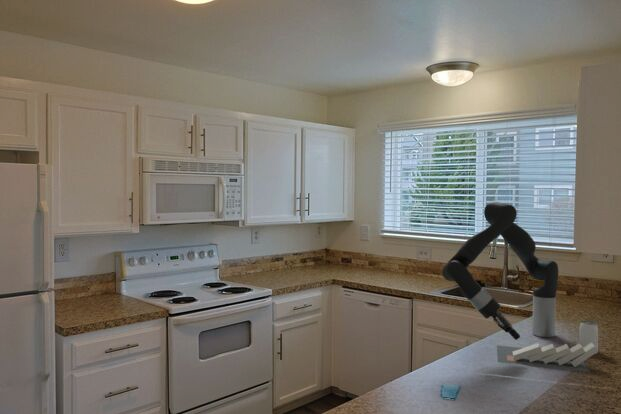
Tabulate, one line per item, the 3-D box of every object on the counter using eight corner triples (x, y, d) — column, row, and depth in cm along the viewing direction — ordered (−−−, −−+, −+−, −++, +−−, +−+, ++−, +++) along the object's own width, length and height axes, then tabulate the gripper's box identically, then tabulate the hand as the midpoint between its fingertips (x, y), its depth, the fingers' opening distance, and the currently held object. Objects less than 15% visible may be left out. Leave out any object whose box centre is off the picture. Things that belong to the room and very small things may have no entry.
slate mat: (496, 346, 211) (496, 345, 211) (578, 354, 201) (578, 353, 201) (497, 363, 190) (497, 361, 190) (589, 373, 181) (589, 371, 181)
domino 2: (526, 353, 195) (552, 343, 192) (529, 358, 195) (555, 348, 192) (527, 357, 190) (554, 347, 187) (530, 362, 190) (556, 352, 187)
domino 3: (540, 355, 193) (566, 343, 190) (543, 359, 193) (569, 348, 190) (542, 359, 189) (568, 347, 186) (545, 364, 188) (571, 352, 185)
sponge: (435, 396, 158) (454, 397, 156) (442, 383, 169) (460, 384, 167) (435, 401, 158) (455, 402, 156) (442, 387, 169) (460, 388, 167)
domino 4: (554, 356, 192) (579, 343, 189) (558, 361, 192) (583, 348, 189) (556, 360, 187) (582, 347, 184) (560, 365, 187) (585, 352, 184)
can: (580, 349, 209) (581, 319, 208) (598, 352, 204) (599, 322, 204) (577, 352, 204) (577, 322, 203) (595, 356, 199) (596, 325, 199)
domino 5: (568, 358, 190) (591, 342, 188) (572, 362, 190) (595, 346, 187) (570, 362, 186) (594, 346, 183) (574, 367, 185) (598, 350, 183)
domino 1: (512, 351, 197) (538, 342, 194) (514, 356, 196) (541, 347, 193) (513, 355, 192) (539, 346, 189) (515, 360, 192) (542, 351, 189)
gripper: (492, 299, 190) (527, 336, 186) (491, 293, 202) (524, 327, 199) (476, 313, 192) (511, 349, 188) (477, 305, 204) (509, 339, 201)
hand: (518, 338), depth 193 cm, fingers closed
